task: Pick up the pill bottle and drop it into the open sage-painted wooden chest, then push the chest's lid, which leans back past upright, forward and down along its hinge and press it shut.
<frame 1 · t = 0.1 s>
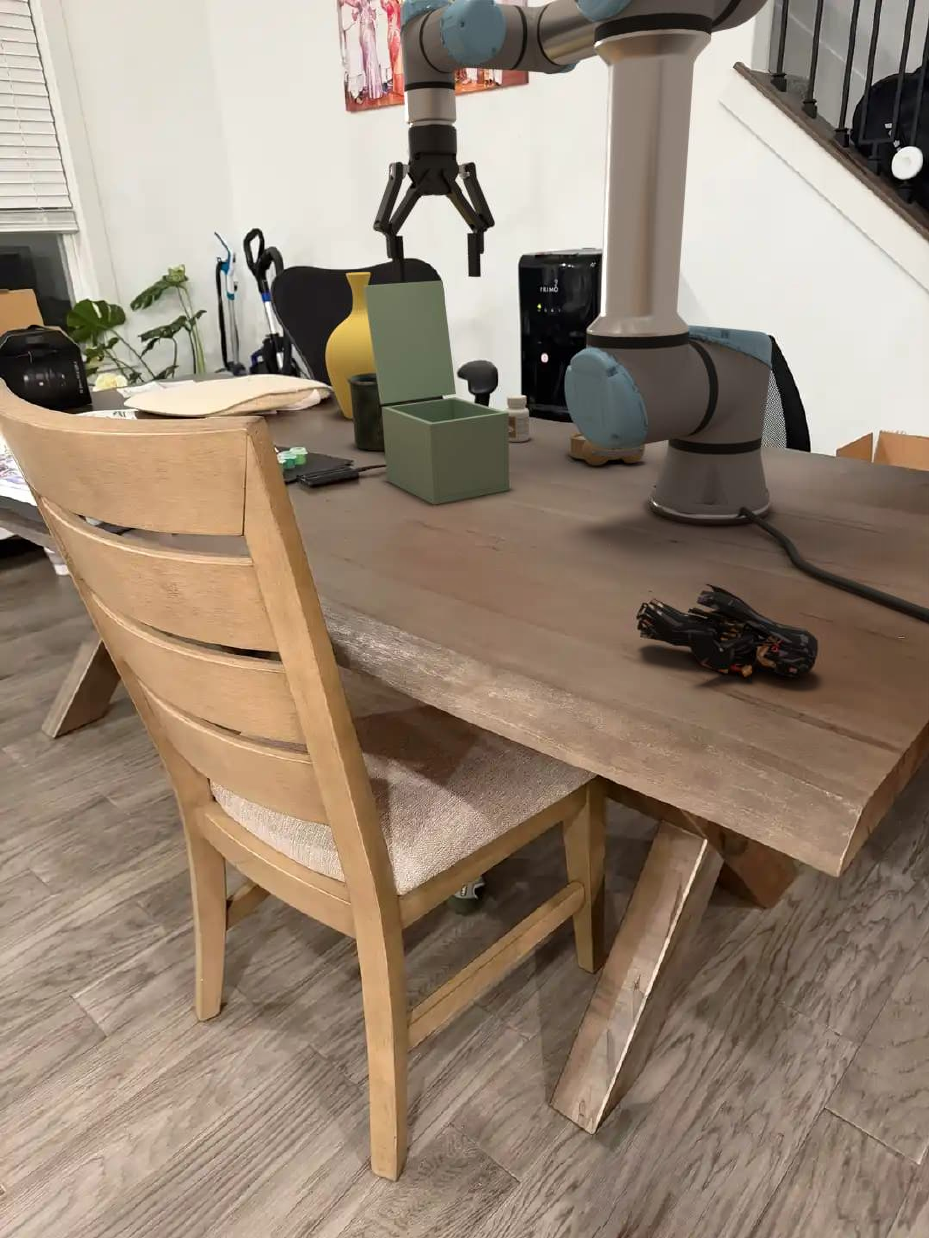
hand: (437, 279, 135), 28 cm above the table, tool pointing down, fingers open, 13 cm apart
pill bottle: (516, 440, 154), on the table
vase: (369, 415, 179), on the table
figurine: (719, 666, 73), on the table
wooden toy car: (607, 460, 139), on the table
mug: (384, 448, 152), on the table
lid: (411, 342, 126), point 20 cm above the table, hinge at 100.0°
chest: (446, 485, 127), on the table
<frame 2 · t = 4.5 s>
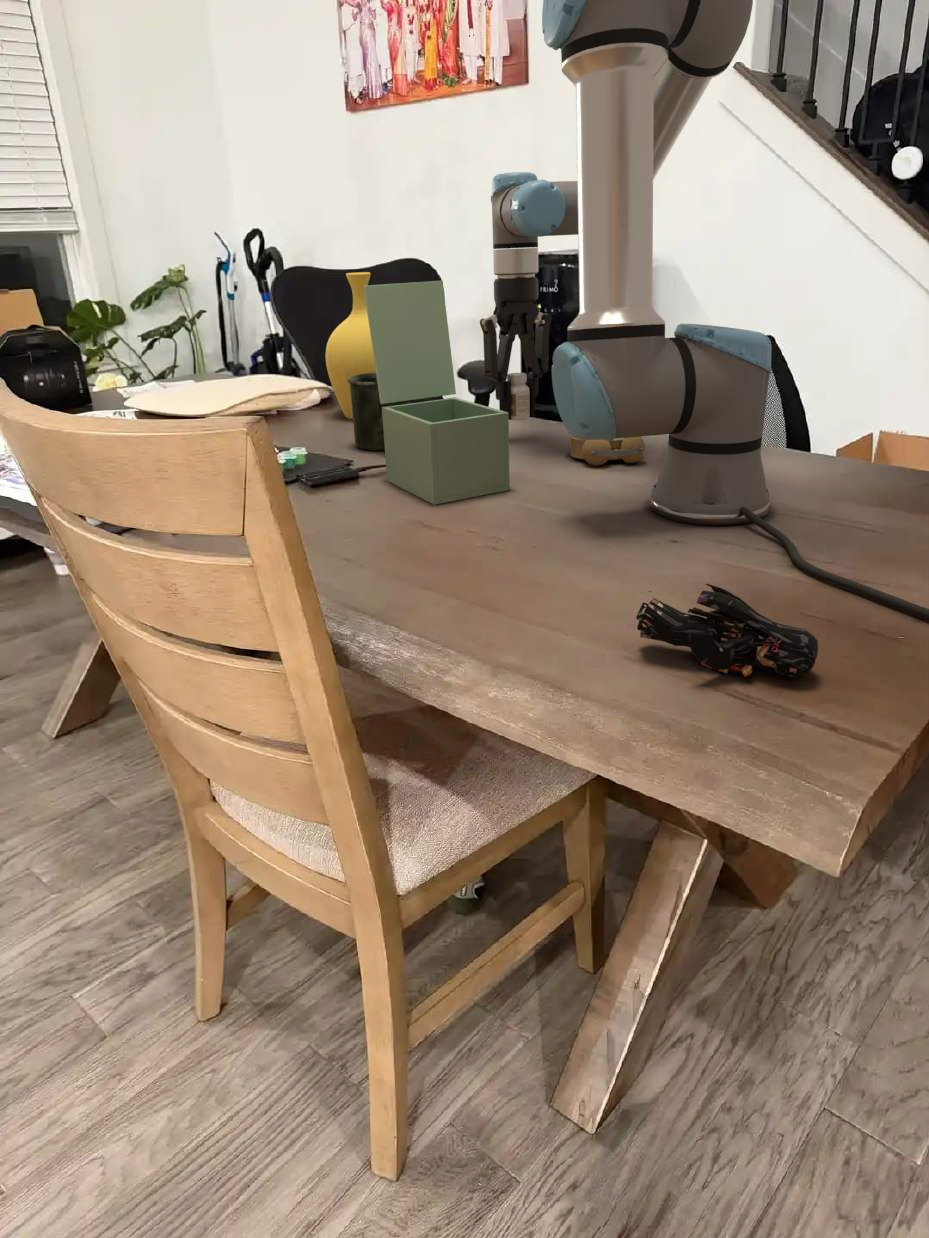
hand: (517, 416, 151), 4 cm above the table, tool pointing down, fingers closed on pill bottle, 4 cm apart
pill bottle: (517, 419, 152), point 4 cm above the table, touching gripper
everything else where it was.
when the fingers open (11 cm above the table, at t = 14.7 s): pill bottle stays where it is, resting on chest.
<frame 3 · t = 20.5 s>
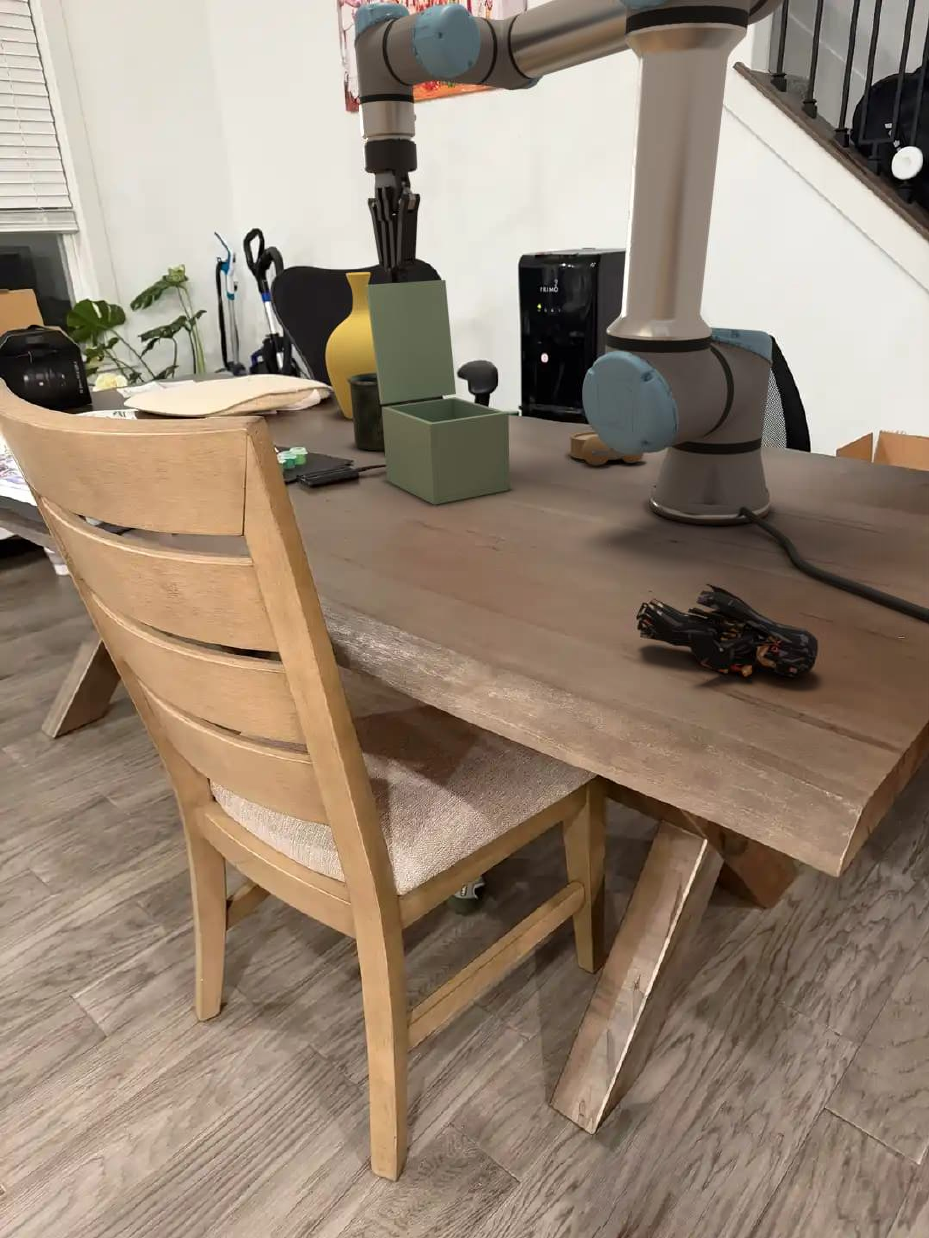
hand: (400, 318, 128), 23 cm above the table, tool pointing down, fingers closed
pill bottle: (453, 486, 125), point 1 cm above the table, touching chest
lid: (412, 342, 126), point 20 cm above the table, hinge at 96.8°, touching gripper
everything else where it was.
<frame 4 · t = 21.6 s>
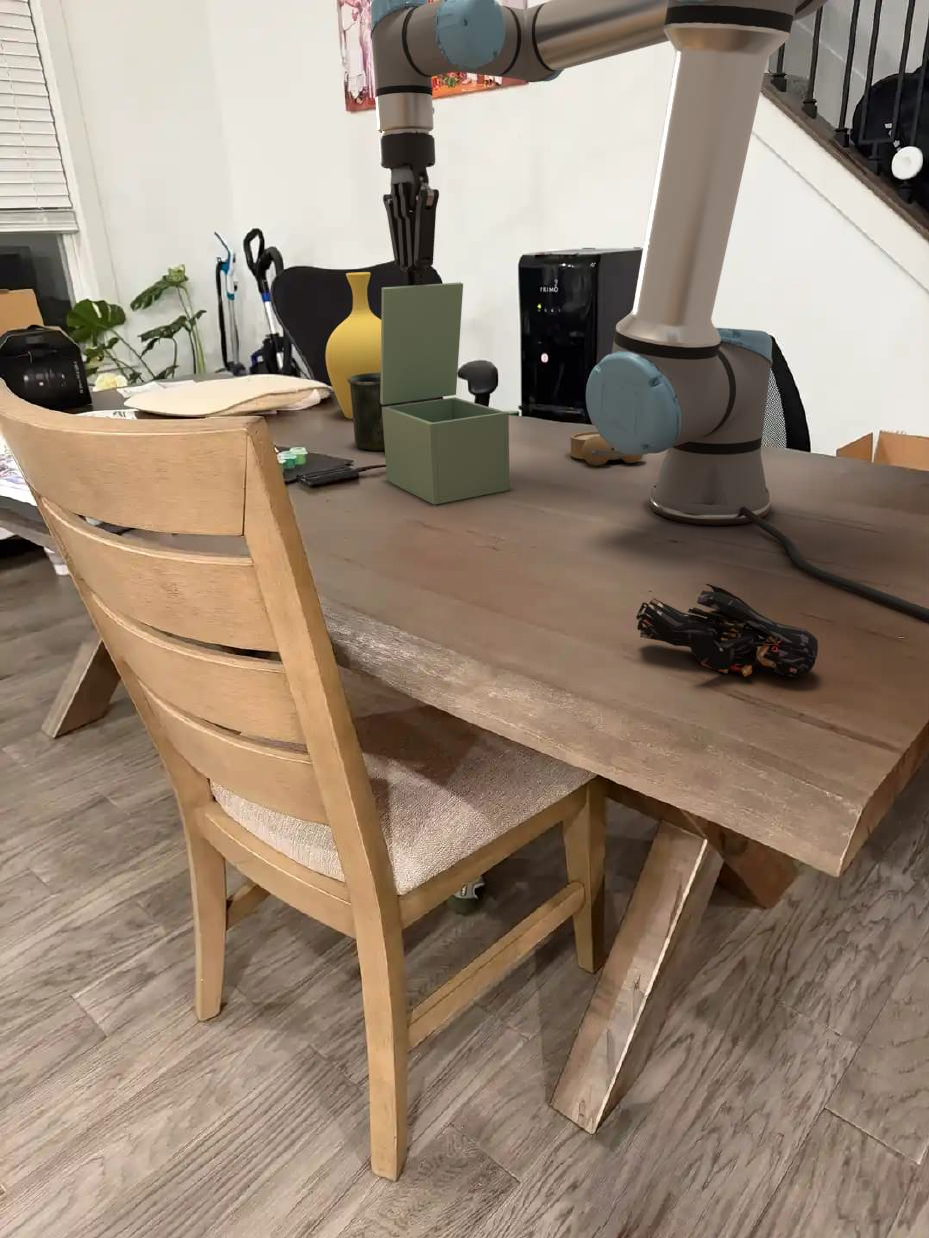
hand: (416, 319, 123), 23 cm above the table, tool pointing down, fingers closed
lid: (421, 344, 124), point 20 cm above the table, hinge at 78.2°, touching gripper
everything else where it was.
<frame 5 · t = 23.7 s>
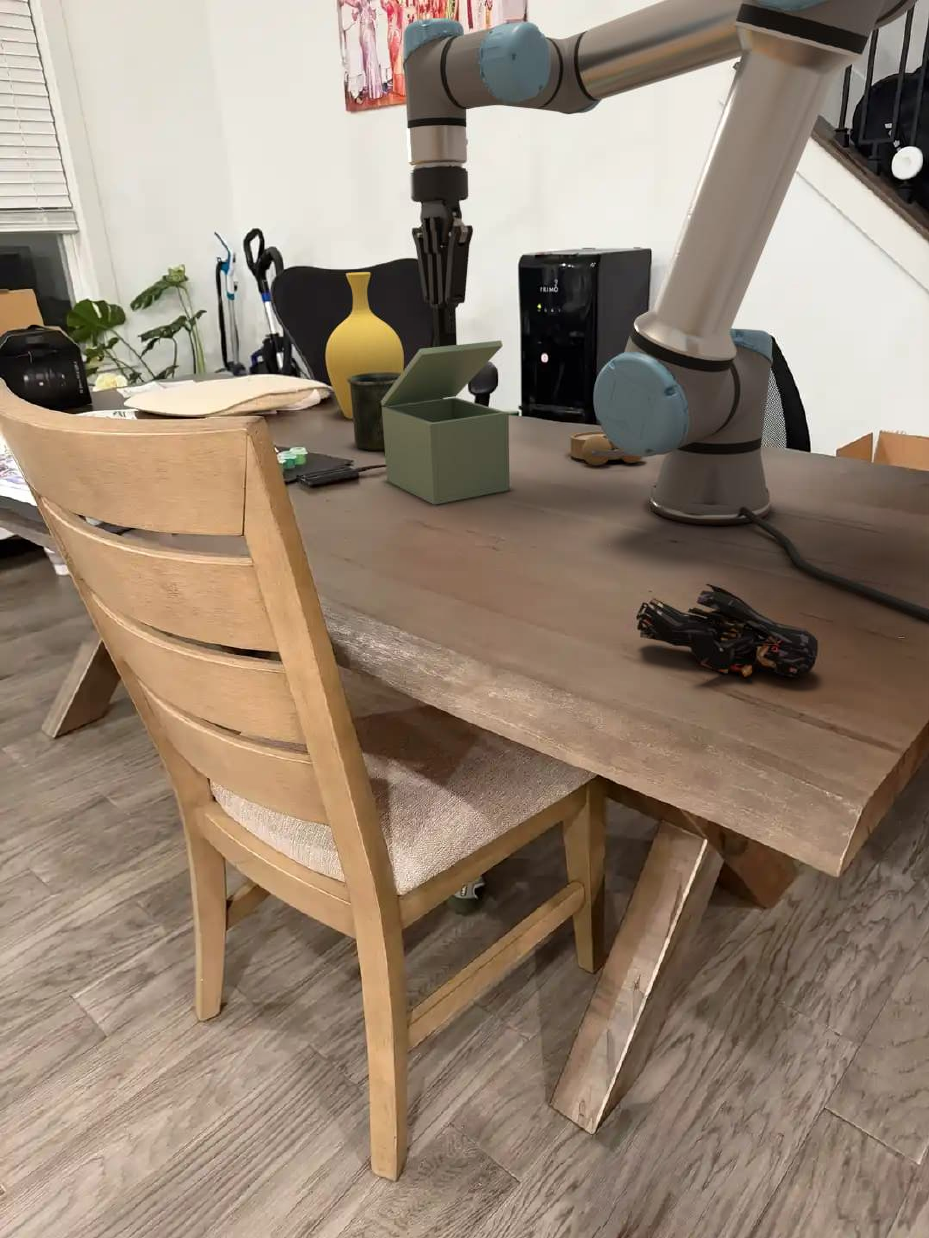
hand: (446, 357, 118), 19 cm above the table, tool pointing down, fingers closed
lid: (439, 374, 121), point 16 cm above the table, hinge at 32.0°, touching gripper
everything else where it was.
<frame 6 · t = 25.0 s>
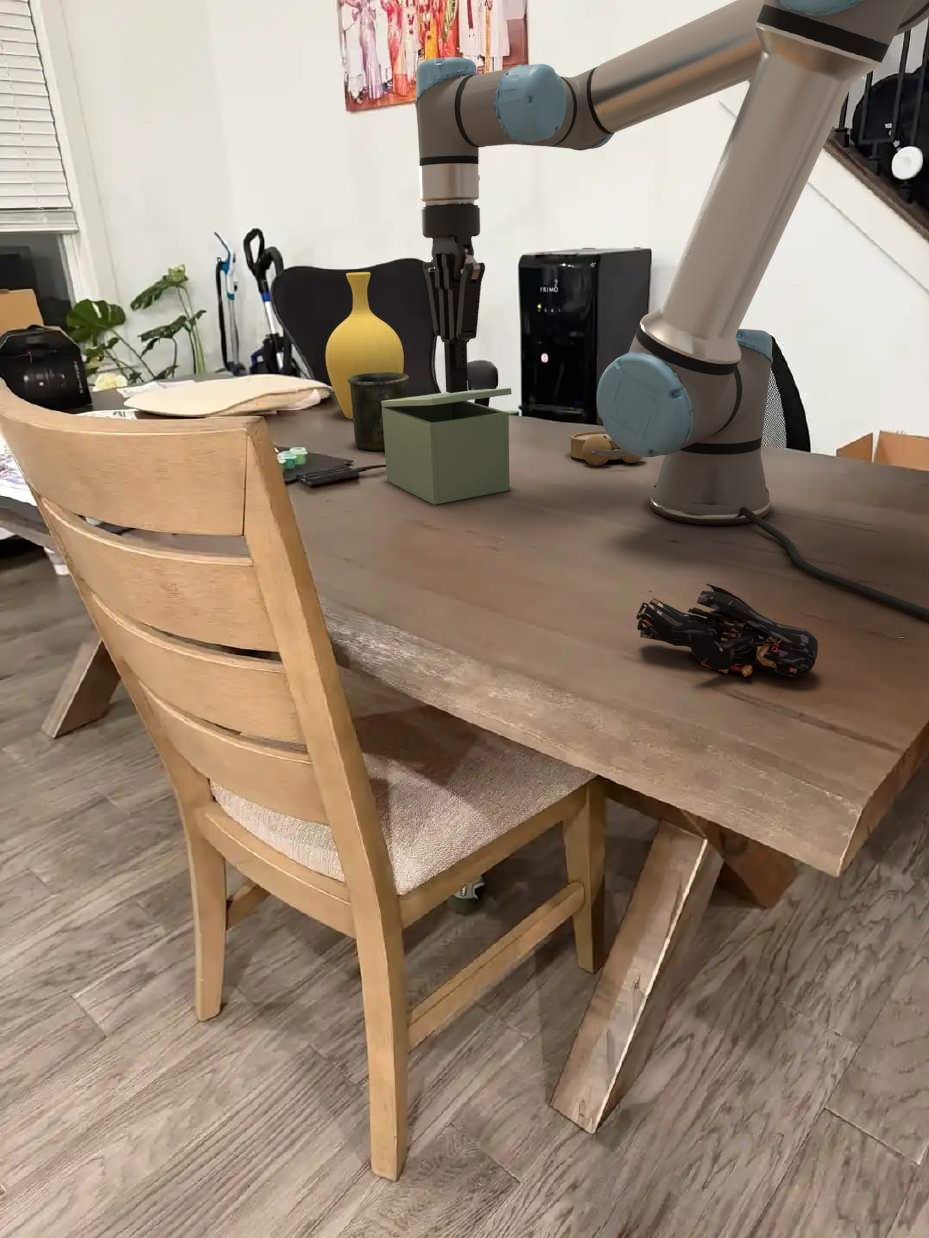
hand: (457, 391, 118), 14 cm above the table, tool pointing down, fingers closed
lid: (444, 397, 122), point 13 cm above the table, hinge at 9.0°
everything else where it was.
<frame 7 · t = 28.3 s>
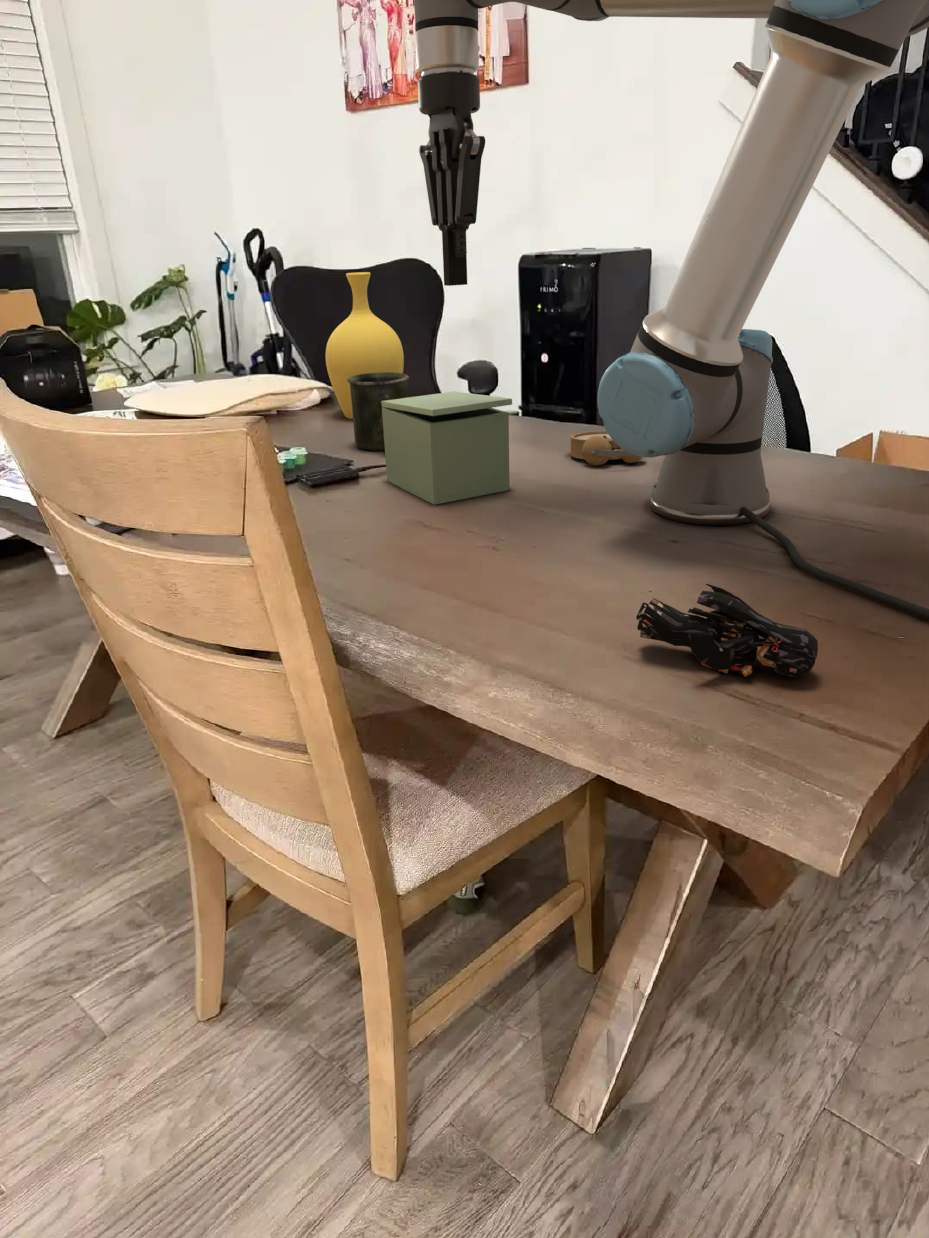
hand: (455, 284, 112), 28 cm above the table, tool pointing down, fingers closed
lid: (444, 402, 122), point 12 cm above the table, hinge at 4.1°
everything else where it was.
at the end: pill bottle inside the target area in the chest (2.9 cm from its centre), point 0.6 cm above the chest's base; lid at +4° (first picture: +100°) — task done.
